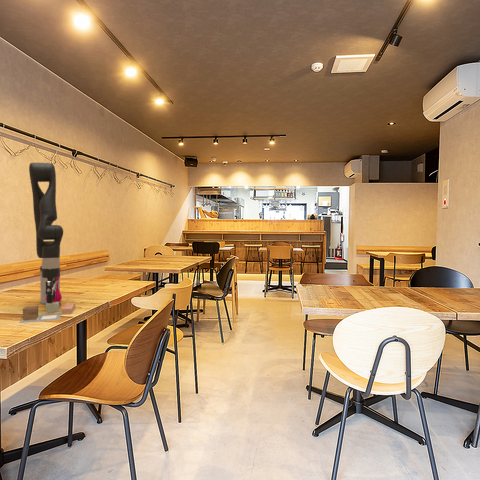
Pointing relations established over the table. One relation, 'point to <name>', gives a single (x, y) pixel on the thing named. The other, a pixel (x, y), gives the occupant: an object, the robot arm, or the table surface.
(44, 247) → the robot arm
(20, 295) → the table surface
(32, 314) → the walnut cube
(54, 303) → the sage cube
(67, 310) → the lintel
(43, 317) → the board
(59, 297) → the pepper mill
